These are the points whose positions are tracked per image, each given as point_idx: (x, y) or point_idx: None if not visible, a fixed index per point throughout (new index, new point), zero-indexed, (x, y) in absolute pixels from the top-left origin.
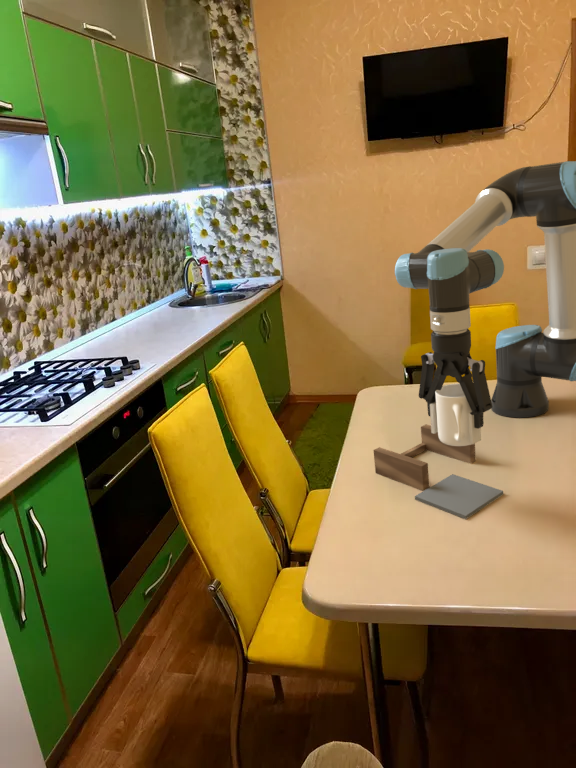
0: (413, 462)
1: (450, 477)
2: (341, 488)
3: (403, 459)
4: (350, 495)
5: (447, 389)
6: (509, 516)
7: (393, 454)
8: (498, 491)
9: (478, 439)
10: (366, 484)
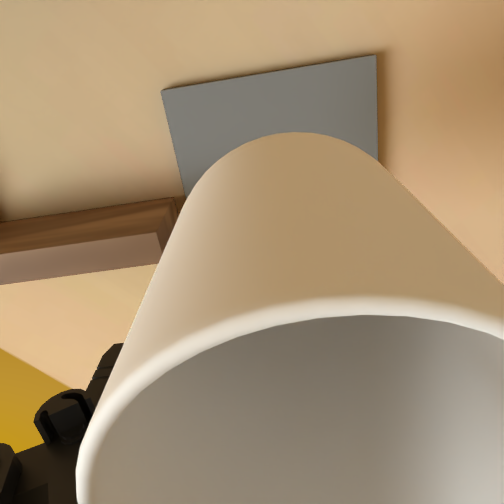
0: (119, 263)
1: (177, 116)
2: (33, 356)
3: (75, 270)
4: (82, 360)
5: (114, 426)
6: (462, 151)
7: (14, 269)
8: (366, 72)
9: None
10: (47, 305)
